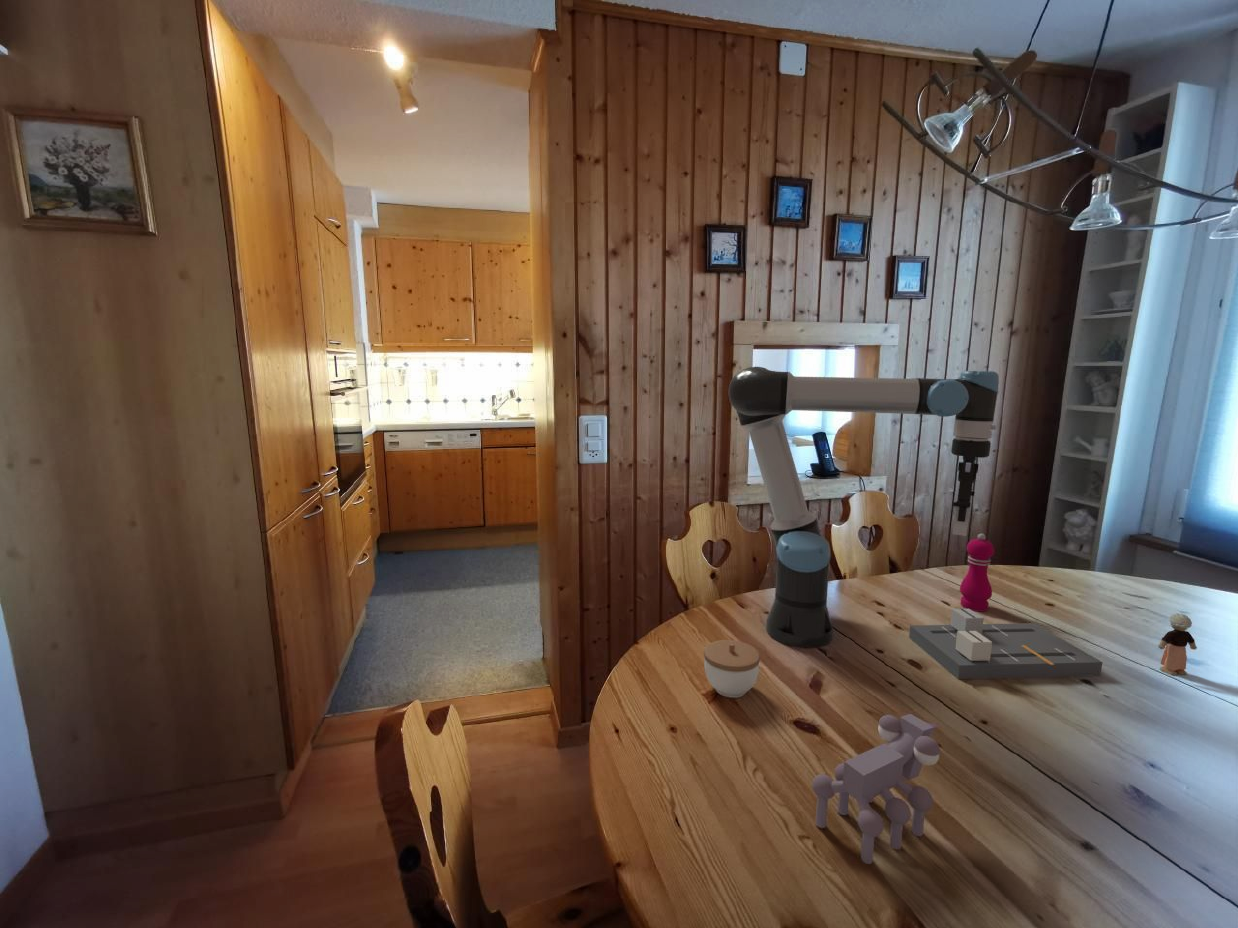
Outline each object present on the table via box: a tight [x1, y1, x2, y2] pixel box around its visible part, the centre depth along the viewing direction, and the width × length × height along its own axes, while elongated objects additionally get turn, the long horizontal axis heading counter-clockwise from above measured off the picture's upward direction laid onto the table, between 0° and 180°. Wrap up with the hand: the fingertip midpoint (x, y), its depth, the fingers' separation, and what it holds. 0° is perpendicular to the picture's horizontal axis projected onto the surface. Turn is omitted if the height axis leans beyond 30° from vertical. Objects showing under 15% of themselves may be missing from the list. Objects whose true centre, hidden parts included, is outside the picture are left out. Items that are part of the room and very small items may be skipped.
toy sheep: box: [811, 713, 941, 865], centre depth 77 cm, size 20×11×14 cm, turn 118°
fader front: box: [955, 631, 992, 661], centre depth 116 cm, size 4×5×4 cm
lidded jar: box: [703, 639, 761, 699], centre depth 109 cm, size 11×11×9 cm
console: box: [908, 622, 1103, 680], centre depth 123 cm, size 30×18×3 cm, turn 92°
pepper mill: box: [959, 533, 995, 612], centre depth 147 cm, size 7×7×20 cm
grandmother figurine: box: [1157, 612, 1198, 676], centre depth 115 cm, size 8×4×13 cm, turn 104°
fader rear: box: [950, 608, 984, 635], centre depth 127 cm, size 4×5×4 cm
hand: (960, 528), depth 132 cm, fingers open, 13 cm apart
